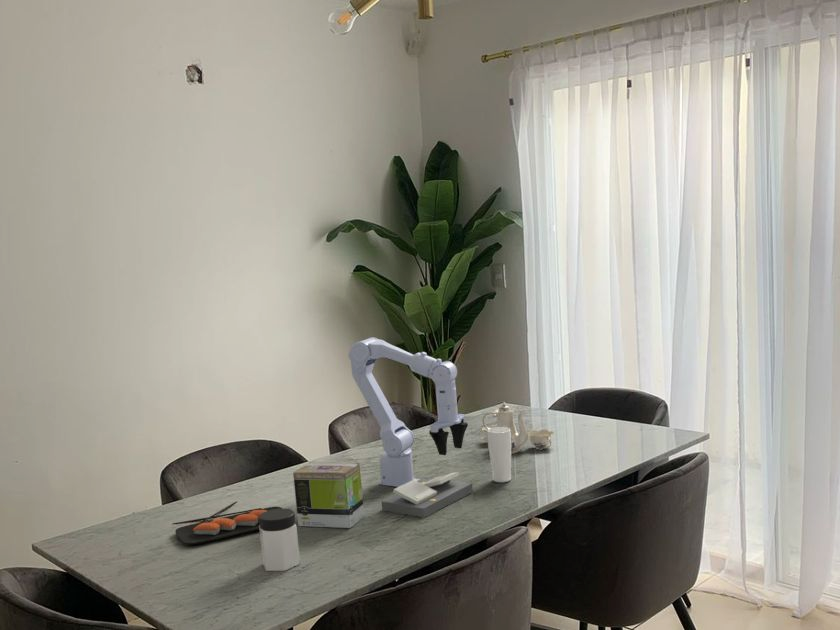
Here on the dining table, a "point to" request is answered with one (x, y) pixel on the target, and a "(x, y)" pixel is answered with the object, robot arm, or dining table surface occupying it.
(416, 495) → the switch
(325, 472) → the tea box
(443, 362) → the robot arm
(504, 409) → the chinaware
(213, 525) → the sushi plate
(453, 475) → the switch
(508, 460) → the drinking glass
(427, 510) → the switch panel
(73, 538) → the dining table surface
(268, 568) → the jar
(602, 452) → the dining table surface
